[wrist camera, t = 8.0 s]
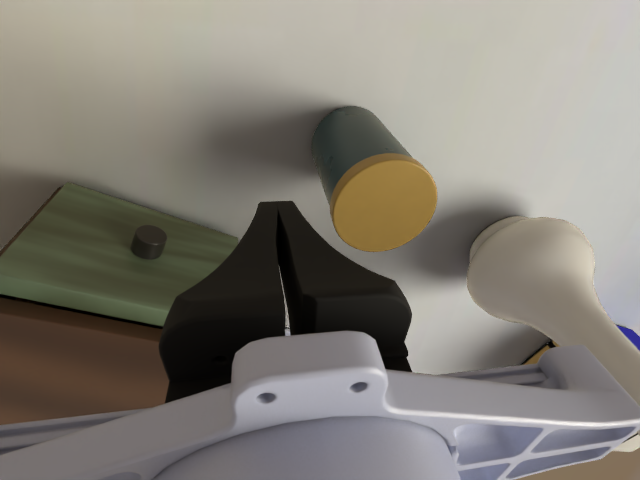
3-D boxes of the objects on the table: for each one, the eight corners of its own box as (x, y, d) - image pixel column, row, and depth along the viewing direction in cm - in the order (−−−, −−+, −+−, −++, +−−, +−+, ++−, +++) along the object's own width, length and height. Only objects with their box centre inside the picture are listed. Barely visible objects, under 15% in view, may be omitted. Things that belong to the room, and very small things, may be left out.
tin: (400, 127, 22) (459, 186, 16) (358, 189, 24) (395, 263, 18) (335, 88, 20) (373, 140, 14) (295, 161, 22) (312, 233, 16)
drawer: (70, 163, 19) (-14, 250, 13) (245, 224, 24) (242, 311, 18) (42, 317, 26) (-23, 423, 20) (184, 343, 30) (167, 437, 24)
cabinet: (59, 186, 21) (-49, 304, 14) (240, 244, 26) (235, 356, 18) (35, 325, 27) (-47, 458, 20) (184, 351, 32) (164, 467, 25)
